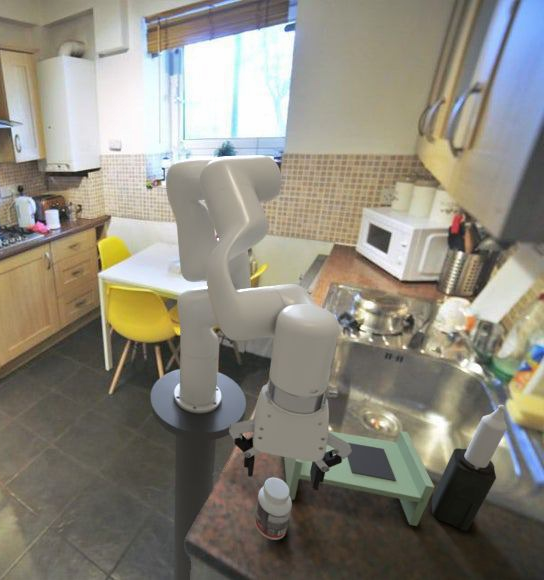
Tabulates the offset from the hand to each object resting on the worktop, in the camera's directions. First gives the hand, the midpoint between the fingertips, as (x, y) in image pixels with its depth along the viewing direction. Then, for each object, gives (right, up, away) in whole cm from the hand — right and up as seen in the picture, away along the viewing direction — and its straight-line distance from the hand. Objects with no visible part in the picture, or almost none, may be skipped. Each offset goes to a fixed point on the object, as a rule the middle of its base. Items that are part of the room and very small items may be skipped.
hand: (281, 475), depth 58 cm
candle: (+33, -10, +7) cm, 35 cm away
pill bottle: (0, -12, +6) cm, 13 cm away
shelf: (+17, -8, +13) cm, 23 cm away
